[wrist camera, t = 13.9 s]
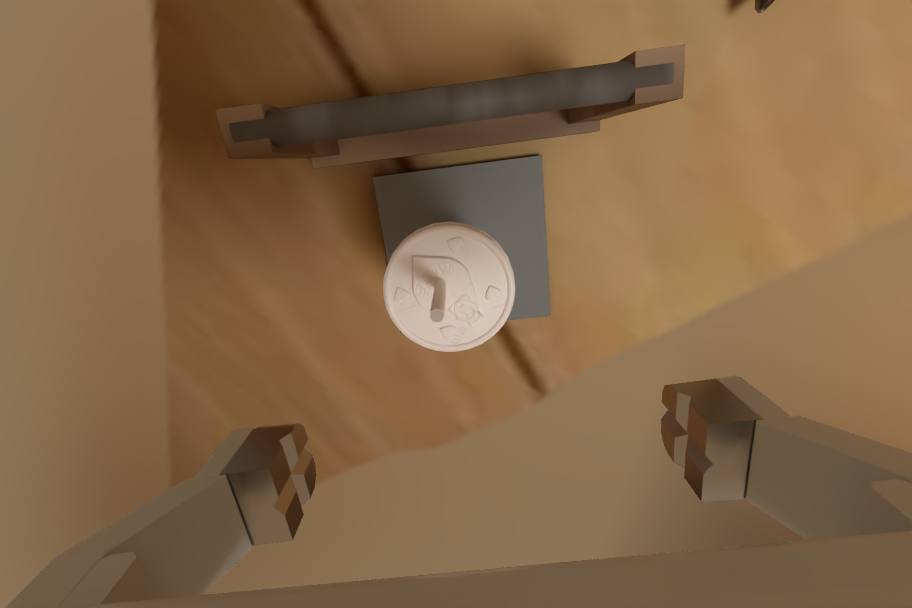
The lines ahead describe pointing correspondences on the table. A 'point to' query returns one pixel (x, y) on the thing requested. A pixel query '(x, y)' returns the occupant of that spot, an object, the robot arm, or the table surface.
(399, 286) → the smoothie
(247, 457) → the robot arm
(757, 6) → the ceramic sculpture
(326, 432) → the table surface
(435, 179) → the mat
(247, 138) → the bar hurdle
